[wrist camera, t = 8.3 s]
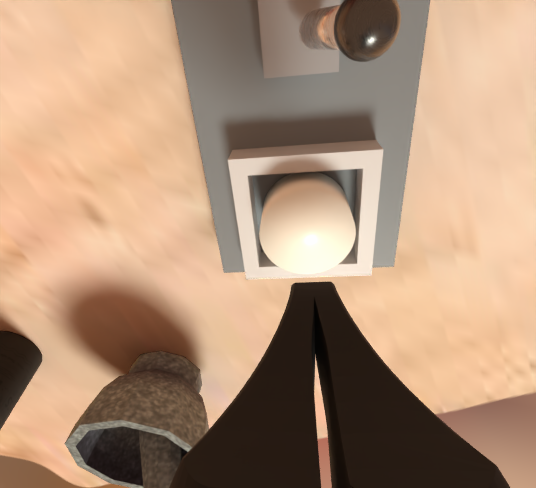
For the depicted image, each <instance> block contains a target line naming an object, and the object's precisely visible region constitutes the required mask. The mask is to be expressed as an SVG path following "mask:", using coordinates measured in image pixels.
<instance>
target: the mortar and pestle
mask: <svg viewBox="0 0 536 488" xmlns="http://www.w3.org/2000/svg"><path fill="white" fill-rule="evenodd" d="M201 386H202V381H201V374H200V370H199V369H198V368H197V367H196V366H195V365H193V364H192V363H191V362H190V361H189V360H187V359H186V358H185V357H183V356H179V355H175V354H171V353H168V352H164V351H158V352H152V353H146V354H141V355H140V356H139V357H138V359H137V360H136V361H135V362H134V363H133V365H132V366H131V368H130V370H129V373H128V374H126V375H123V376H119V377H118V378H116V379H115V380H114V381H112V382H111V383H109V384H108V385H107V386H105V387H104V388H103V389H102V390H101V392H100V393H99V394H98V395H97V397H96V398H95V399H94V400H93V402H92V403H91V404H90V405H89V407H88V408H87V409H86V411H85V412H84V413H83V415H82V416H81V417H80V419H79V420H78V422H77V423H76V424H75V426H74V428H73V430H72V431H71V433H70V435H69V437H68V439H67V441H66V442H65V445H66V446H67V448H68V450H69V452H70V453H71V455H72V457H73V458H74V460H75V462H76V464H77V465H78V466H79V467H81V468H83V469H85V470H87V471H89V472H90V473H92V474H94V475H96V476H98V477H99V478H101V479H103V480H105V481H107V482H109V483H112V484H117V485H121V486H126V487H130V488H169V487H170V485H171V482H172V480H173V477H174V475H175V473H176V470H177V468H178V466H179V464H180V462H181V460H182V458H183V457H184V456H185V455H186V454H187V453H188V452H189V451H190V449H191V448H192V447H193V446H194V445H195V444H196V443H197V442H198V441H199V440H200V439H201V438H202V437H203V436H204V435H205V434H206V432H207V431H208V430H209V427H208V420H207V413H206V410H205V406H204V402H203V399H202V397H201V395H200V394H199V392H200V389H201Z"/></svg>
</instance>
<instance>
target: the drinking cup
mask: <svg viewBox="0 0 536 488" xmlns="http://www.w3.org/2000/svg"><path fill="white" fill-rule="evenodd" d="M41 362H42V355H41V352H40V351H39V349H38V348H37V347H36V346H35V345H34V344H33V343H32V342H30V341H29V340H27V339H26V338H24V337H22V336H20V335H17V334H14V333H11V332H6V331H0V429H1V428H2V426H3V425H4V423H5V421H6V420H7V418H8V416H9V415H10V413H11V411H12V410H13V408H14V407H15V405H16V403H17V402H18V400H19V398H20V397H21V395H22V394H23V392H24V390H25V389H26V387H27V385H28V384H29V382H30V381H31V379H32V377H33V376H34V374H35V372H36V371H37V369H38V367H39V366H40V364H41Z"/></svg>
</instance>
